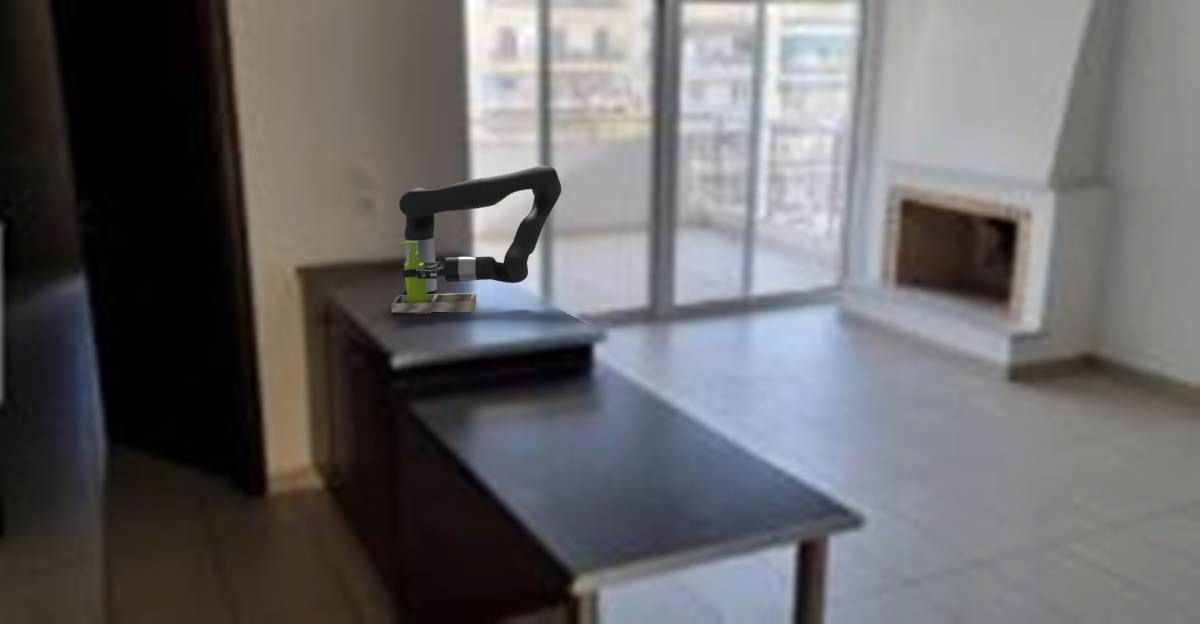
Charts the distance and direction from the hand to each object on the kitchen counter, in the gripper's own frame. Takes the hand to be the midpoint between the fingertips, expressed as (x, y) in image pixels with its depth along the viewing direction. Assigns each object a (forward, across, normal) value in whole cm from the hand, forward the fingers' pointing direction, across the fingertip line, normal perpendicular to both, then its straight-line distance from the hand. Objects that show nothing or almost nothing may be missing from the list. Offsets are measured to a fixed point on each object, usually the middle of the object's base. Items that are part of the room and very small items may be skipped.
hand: (405, 271), depth 312 cm
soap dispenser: (-2, 0, +11) cm, 11 cm away
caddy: (-8, 0, +12) cm, 14 cm away
